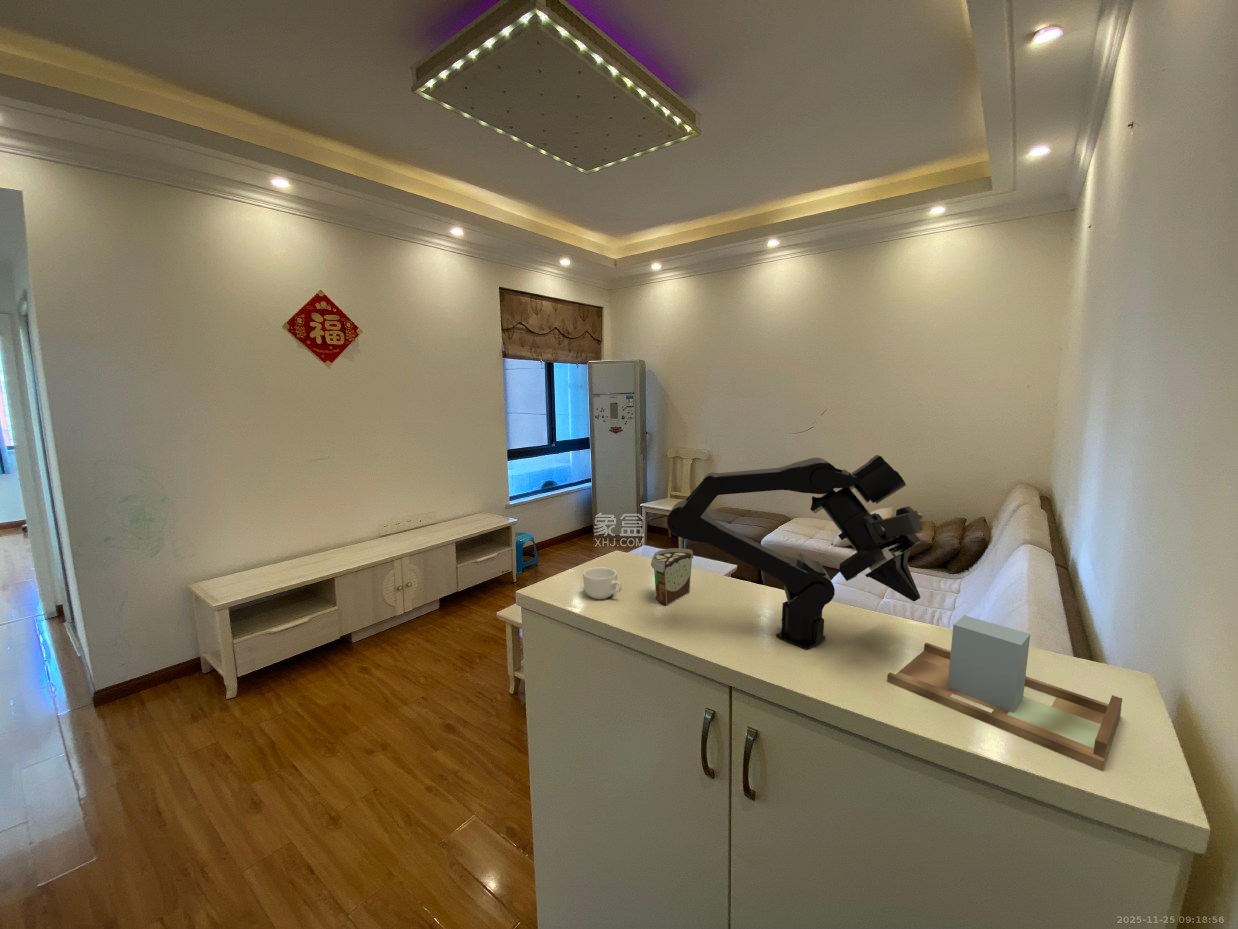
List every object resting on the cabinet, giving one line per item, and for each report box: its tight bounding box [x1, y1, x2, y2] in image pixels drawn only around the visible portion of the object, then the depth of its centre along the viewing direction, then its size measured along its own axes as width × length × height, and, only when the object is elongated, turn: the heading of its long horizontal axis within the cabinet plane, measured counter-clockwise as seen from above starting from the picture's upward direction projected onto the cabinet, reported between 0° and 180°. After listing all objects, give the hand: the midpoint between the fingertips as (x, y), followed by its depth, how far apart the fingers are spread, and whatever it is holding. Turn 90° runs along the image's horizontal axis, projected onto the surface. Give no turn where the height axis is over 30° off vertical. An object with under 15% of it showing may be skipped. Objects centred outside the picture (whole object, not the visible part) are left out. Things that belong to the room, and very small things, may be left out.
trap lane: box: [886, 642, 1123, 772], centre depth 72 cm, size 24×16×4 cm, turn 40°
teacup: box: [582, 566, 623, 600], centre depth 112 cm, size 10×8×5 cm
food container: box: [650, 548, 694, 607], centre depth 111 cm, size 12×6×10 cm, turn 141°
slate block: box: [947, 615, 1031, 713], centre depth 73 cm, size 8×5×10 cm, turn 40°
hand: (917, 599), depth 79 cm, fingers closed
